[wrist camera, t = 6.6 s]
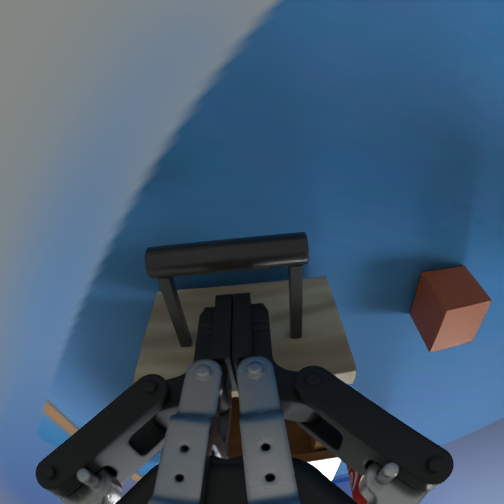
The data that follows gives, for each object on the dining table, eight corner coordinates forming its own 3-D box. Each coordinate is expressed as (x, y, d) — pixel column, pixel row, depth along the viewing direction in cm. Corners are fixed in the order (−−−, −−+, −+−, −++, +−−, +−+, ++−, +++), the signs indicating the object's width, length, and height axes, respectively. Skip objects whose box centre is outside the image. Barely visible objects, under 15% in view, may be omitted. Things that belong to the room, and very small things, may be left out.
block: (464, 265, 22) (491, 300, 19) (450, 305, 25) (472, 341, 21) (420, 272, 22) (446, 310, 19) (409, 314, 25) (429, 352, 21)
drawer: (131, 208, 18) (80, 295, 11) (328, 187, 18) (378, 269, 11) (197, 396, 29) (192, 469, 22) (316, 387, 28) (329, 459, 22)
